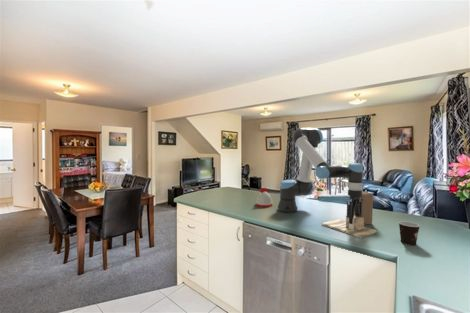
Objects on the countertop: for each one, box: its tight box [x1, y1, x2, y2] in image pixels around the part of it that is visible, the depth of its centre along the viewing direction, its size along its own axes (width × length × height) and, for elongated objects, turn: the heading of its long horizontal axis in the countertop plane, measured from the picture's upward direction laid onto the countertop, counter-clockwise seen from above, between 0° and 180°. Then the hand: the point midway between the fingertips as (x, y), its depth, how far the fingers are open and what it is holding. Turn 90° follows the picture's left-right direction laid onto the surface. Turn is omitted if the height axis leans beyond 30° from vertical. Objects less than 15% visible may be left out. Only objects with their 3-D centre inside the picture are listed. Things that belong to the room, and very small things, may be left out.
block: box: [353, 190, 374, 225], centre depth 154 cm, size 10×10×20 cm
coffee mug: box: [398, 220, 420, 247], centre depth 121 cm, size 12×9×10 cm
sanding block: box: [345, 215, 365, 231], centre depth 139 cm, size 8×5×7 cm, turn 34°
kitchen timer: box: [255, 187, 273, 208], centre depth 198 cm, size 14×14×15 cm
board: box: [321, 218, 377, 239], centre depth 142 cm, size 25×16×1 cm, turn 34°
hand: (354, 227), depth 139 cm, fingers closed on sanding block, 5 cm apart
